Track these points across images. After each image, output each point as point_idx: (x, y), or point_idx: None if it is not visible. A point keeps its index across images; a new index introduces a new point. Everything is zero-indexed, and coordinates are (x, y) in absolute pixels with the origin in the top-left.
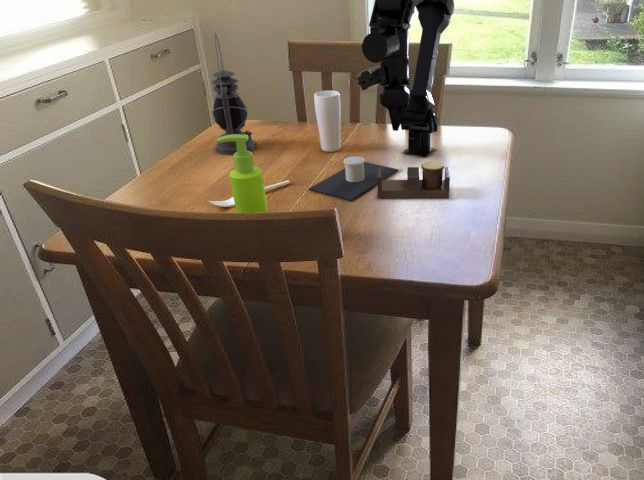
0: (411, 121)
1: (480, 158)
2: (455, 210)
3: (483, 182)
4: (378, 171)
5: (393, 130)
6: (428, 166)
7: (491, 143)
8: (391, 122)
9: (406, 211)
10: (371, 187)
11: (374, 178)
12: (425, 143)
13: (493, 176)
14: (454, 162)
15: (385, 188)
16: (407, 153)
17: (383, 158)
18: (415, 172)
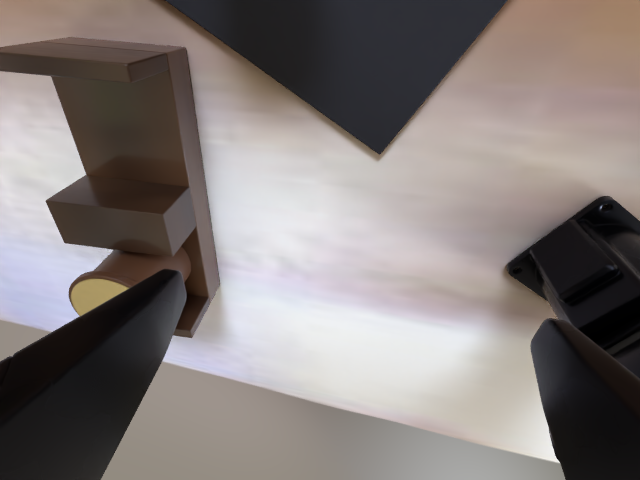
0: (628, 364)
1: (436, 391)
2: (77, 275)
3: (263, 359)
4: (65, 60)
5: (167, 269)
6: (92, 297)
7: (549, 435)
8: (82, 316)
9: (12, 148)
10: (168, 2)
11: (272, 21)
12: (555, 310)
13: (301, 383)
14: (423, 336)
15: (74, 83)
16: (580, 212)
17: (584, 83)
18: (110, 237)
